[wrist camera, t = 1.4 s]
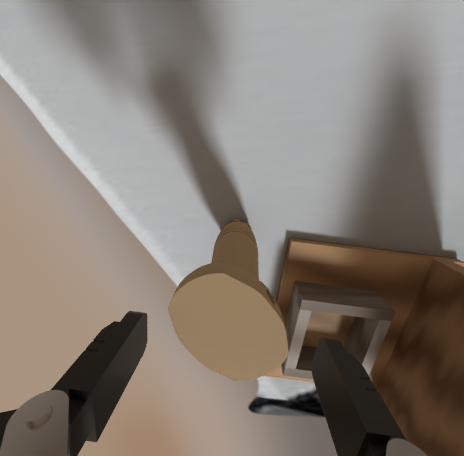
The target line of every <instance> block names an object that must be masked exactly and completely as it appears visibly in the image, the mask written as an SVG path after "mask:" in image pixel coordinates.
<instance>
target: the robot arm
mask: <svg viewBox="0 0 464 456" xmlns="http://www.w3.org/2000/svg"><path fill="white" fill-rule="evenodd" d="M146 344H147V314H146V313H141V312H134V311H129V312H128V313H127V314H126V315H125V316H124V318H123V319H122V320H121V322H115V321H114V322H113V323H111V324H110V325H108V326H107V327H105V328H104V329H102V330H101V332H100V333H99V334H98V335H97V336H96V338H95V339H94V341H93V342H91V343H90V345H89V346H88V347H87V348H86V350H85V351H84V352H83V353H82V354H81V355H80V356H79V357H78V359H77V360H76V361H75V362H74V363H73V364H72V366H71V367H70V368H69V369H68V370H67V372H66V373H65V374H64V375H63V376H62V378H61V379H60V380H59V381H58V382H57V383H56V384H55V386H54V387H53V388H52V389H51V390H50V391H46V392H43V393H41V394H38V395H36V396H34V397H33V398H31V399H30V400H28V401H27V402H25V403H24V404H23V405H22V406H21V407H19V408H18V409H16V410H12V411H7V412H2V413H0V456H77V455H78V454H79V452H80V450H81V448H82V447H83V445H84V443H85V441H92V442H97V441H98V439H99V437H100V435H101V433H102V431H103V430H104V428H105V426H106V424H107V422H108V420H109V418H110V416H111V414H112V413H113V410H114V409H115V407H116V405H117V403H118V401H119V399H120V397H121V395H122V393H123V392H124V390H125V388H126V386H127V384H128V382H129V380H130V378H131V376H132V375H133V373H134V371H135V369H136V367H137V365H138V363H139V361H140V359H141V358H142V356H143V353H144V351H145V348H146ZM312 376H313V380H314V383H315V386H316V389H317V392H318V395H319V398H320V402H321V405H322V408H323V411H324V414H325V417H326V420H327V423H328V427H329V429H330V433H331V436H332V439H333V442H334V445H335V448H336V452H337V455H338V456H427V455H426V454H425V453H424V452H423V451H422V450H420V449H419V448H418V447H417V446H415V445H413V444H412V443H410V442H408V441H407V440H406V438H405V436H404V435H403V433H402V431H401V430H400V428H399V426H398V424H397V423H396V421H395V419H394V418H393V416H392V414H391V413H390V411H389V409H388V407H387V406H386V404H385V402H384V401H383V399H382V397H381V396H380V394H379V392H377V389H376V387H375V385H374V384H373V382H372V381H371V380H370V377H369V375H368V373H367V372H366V370H365V368H364V367H363V365H362V364H361V363H360V362H359V361H358V360H357V359H356V358H355V357H354V356H353V355H352V354H347V353H346V351H345V349H344V347H343V345H342V343H341V342H340V341H339V340H338V339H331V338H323V337H321V338H320V339H319V341H318V345H317V348H316V352H315V355H314V358H313V362H312Z"/></svg>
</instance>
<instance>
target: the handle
mask: <svg viewBox="0 0 464 456" xmlns="http://www.w3.org/2000/svg"><path fill="white" fill-rule="evenodd" d="M168 310H169V314H170V317H171V321H172V323H173V327H174V329H175V332H176V334H177V336H178V338H179V340H180V341H181V343H182V344H183V345H184V346H185V348H186V349H188V351H189V352H190V353H191V354H192V355H193V356H194V357H195V358H196V359H197V360H198V361H199V362H201V363H202V364H203V365H204V366H206V367H207V368H209V369H211V370H213V371H215V372H217V373H219V374H222V375H224V376H226V377H228V378H230V379H233V380H251V379H255V378H259V377H261V376H264V375H266V374H268V373H270V372H272V371H274V370H275V369H276V368H278V367H279V366H280V365H281V364H282V363H283V362H284V361H285V360H286V358H287V356H288V355H289V351H288V342H287V336H286V330H285V326H284V322H283V318H282V314H281V311H280V308H279V306H278V304H277V302H276V301H275V299H274V297H273V296H272V294H271V293H270V291H269V289H268V288H267V287H266V286H265V285H264V284H263V283H262V282H261V281H259V275H258V248H257V243H256V240H255V237H254V234H253V232H252V230H251V227H250V225H249V224H248V223H243V222H241V221H239V220H238V219H233V221H232V222H231V223H229V224H226V225H225V226H224V227H223V229H222V231H221V232H220V234H219V235H218V238H217V240H216V243H215V246H214V251H213V257H212V262H211V263H210V264H207V265H204V266H202V267H200V268H198V269H196V270H194V271H193V272H192V273H190V274H189V275H188V276H186V277H185V278H184V280H183V281H182V282H181V283H180V284H179V286H178V288H177V289H176V291H175V293H174V295H173V297H172V299H171V301H170V303H169V306H168Z"/></svg>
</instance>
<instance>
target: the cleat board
mask: <svg viewBox="0 0 464 456" xmlns="http://www.w3.org/2000/svg"><path fill="white" fill-rule="evenodd" d="M276 302H277V304H278V306H279V308H280V311H281V314H282V318H283V322H284V326H285V330H286V336H287V342H288V351H289V355H288V356H287V358H286V360H285V361H284V362H283V363H282V364H281V365H280V366H279V367H278V368H276V369H275V370H274V371H272V372H270V373H268V374H266V375H264V376H271V377H278V378H286V379H293V380H301V381H308V382H314V380H313V376H312V362H313V358H314V355H315V352H316V348H317V345H318V341H319V339H320V338H321V337H323V338H331V339H338V340H339V341H340V342H341V343H342V345H343V347H344V349H345V351H346V353H347V354H352V355H353V356H354V357H355V358H356V359H357V360H358V361H359V362H360V363H361V364H362V365H363V367H364V368H365V370H366V372H367V373H368V375H369V377H370V380H371V381H372V382H373V384H374V385H375V387H376V389H377V392H379V394H380V396H381V397H382V399H383V401H384V402H385V404H386V406H387V407H388V409H389V411H390V413H391V414H392V416H393V418H394V419H395V421H396V423H397V424H398V426H399V428H400V430H401V431H402V433H403V435H404V436H405V438H406V440H407V441H408V442H410V443H412V444H413V445H415V446H417V447H418V448H419V449H420V450H422V451H423V452H424V453H425V454H426V455H427V456H464V262H463V261H460V260H458V259H453V258H445V257H437V256H429V255H421V254H413V253H405V252H397V251H389V250H381V249H373V248H365V247H357V246H349V245H340V244H332V243H324V242H316V241H308V240H300V239H292V238H290V239H289V244H288V248H287V253H286V258H285V263H284V267H283V272H282V277H281V282H280V286H279V291H278V296H277V301H276Z"/></svg>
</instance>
